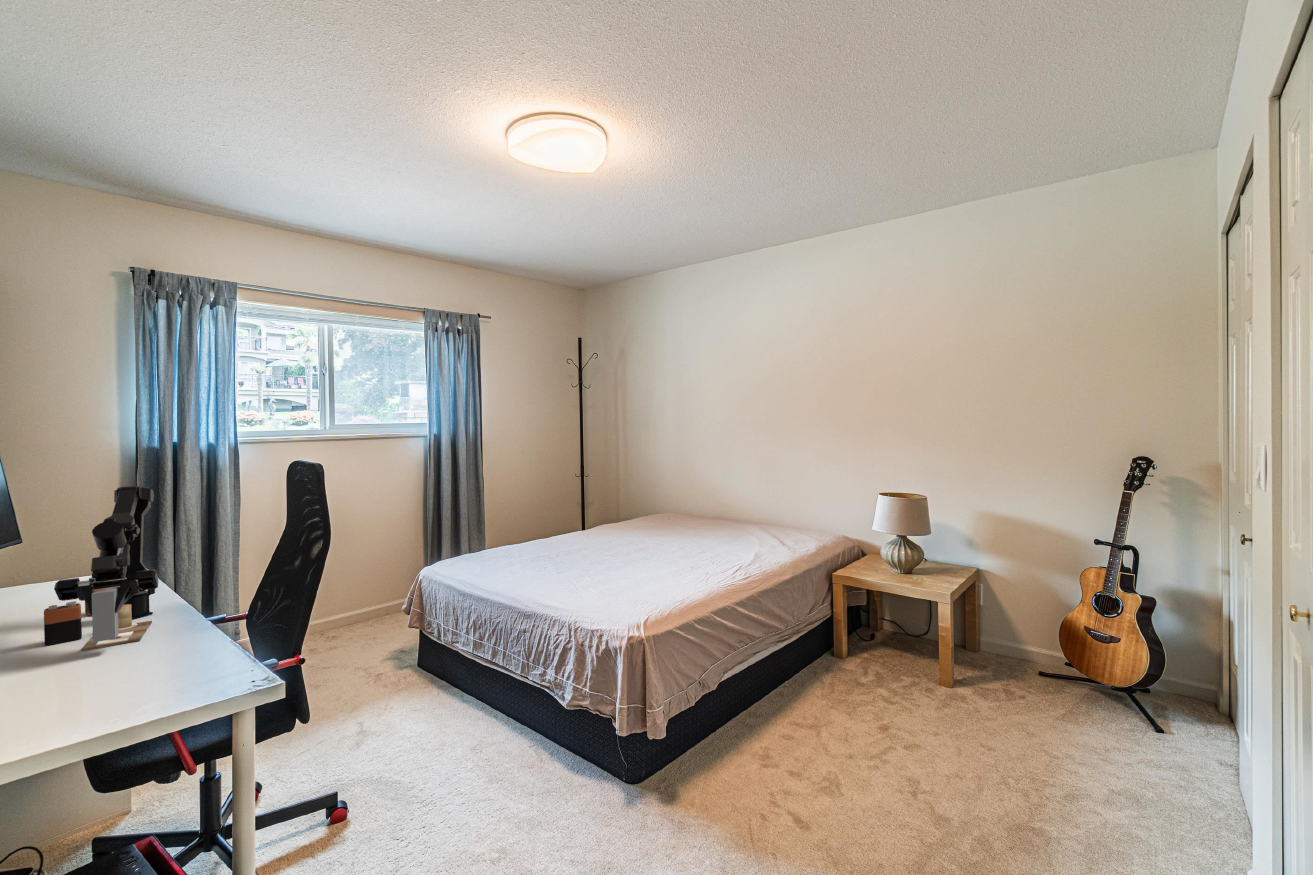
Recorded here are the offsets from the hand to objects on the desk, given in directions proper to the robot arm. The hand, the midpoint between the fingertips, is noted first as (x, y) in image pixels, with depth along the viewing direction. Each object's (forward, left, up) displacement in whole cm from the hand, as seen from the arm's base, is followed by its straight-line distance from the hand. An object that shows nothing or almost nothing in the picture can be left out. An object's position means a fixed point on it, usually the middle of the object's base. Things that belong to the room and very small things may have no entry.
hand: (103, 613), depth 140 cm
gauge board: (-9, -13, -10) cm, 19 cm away
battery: (-3, -23, -10) cm, 25 cm away
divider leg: (-1, -1, -7) cm, 7 cm away
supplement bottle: (-21, -44, -10) cm, 49 cm away
